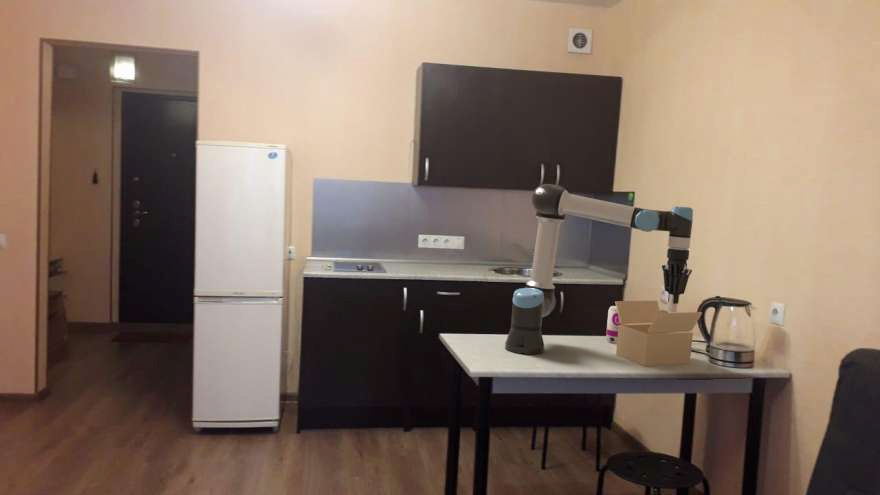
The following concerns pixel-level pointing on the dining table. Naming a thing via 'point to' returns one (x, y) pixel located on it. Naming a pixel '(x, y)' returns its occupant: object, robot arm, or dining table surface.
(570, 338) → the dining table surface
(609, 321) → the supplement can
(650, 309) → the far flap
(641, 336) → the carton
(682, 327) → the near flap
